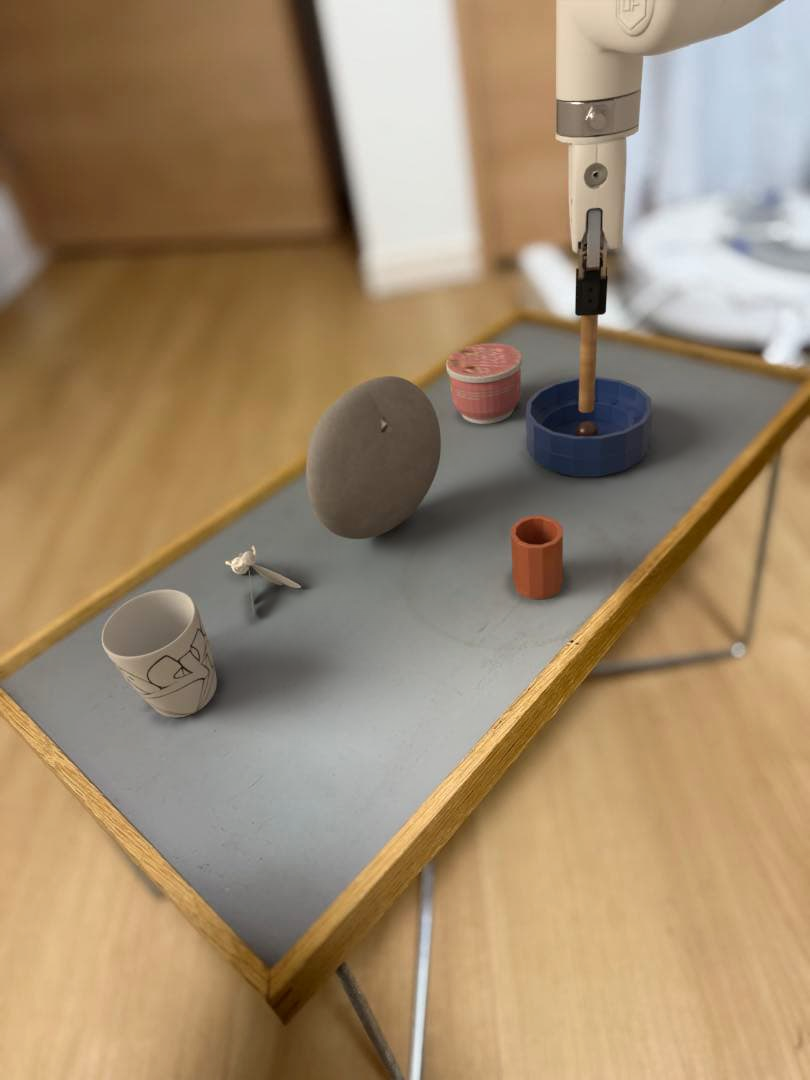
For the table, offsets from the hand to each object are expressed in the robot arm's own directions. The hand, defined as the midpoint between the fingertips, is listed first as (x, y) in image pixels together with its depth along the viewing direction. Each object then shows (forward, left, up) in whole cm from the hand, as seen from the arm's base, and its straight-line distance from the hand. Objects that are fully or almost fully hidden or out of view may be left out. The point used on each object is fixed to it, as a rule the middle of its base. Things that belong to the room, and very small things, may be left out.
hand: (590, 308), depth 77 cm
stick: (0, 0, -13) cm, 13 cm away
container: (+14, -13, -20) cm, 28 cm away
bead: (0, -3, -18) cm, 18 cm away
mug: (+39, +39, -20) cm, 58 cm away
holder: (+5, +23, -20) cm, 31 cm away
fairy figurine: (+36, +25, -20) cm, 48 cm away
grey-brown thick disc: (+23, +14, -20) cm, 33 cm away
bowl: (0, -3, -20) cm, 20 cm away
